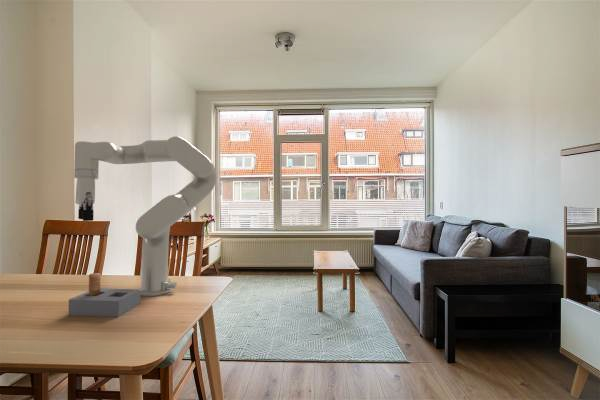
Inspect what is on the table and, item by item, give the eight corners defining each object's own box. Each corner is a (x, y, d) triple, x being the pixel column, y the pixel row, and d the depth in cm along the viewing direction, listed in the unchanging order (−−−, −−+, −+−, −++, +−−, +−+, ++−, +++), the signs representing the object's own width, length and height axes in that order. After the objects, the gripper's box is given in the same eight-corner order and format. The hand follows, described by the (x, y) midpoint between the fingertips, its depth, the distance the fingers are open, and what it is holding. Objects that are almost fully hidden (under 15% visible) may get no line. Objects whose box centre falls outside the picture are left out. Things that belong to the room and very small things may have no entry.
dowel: (102, 302, 102) (102, 273, 102) (95, 305, 99) (96, 275, 99) (93, 302, 103) (93, 272, 103) (86, 305, 99) (86, 275, 99)
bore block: (139, 303, 107) (140, 289, 107) (118, 316, 95) (118, 301, 95) (95, 302, 107) (95, 288, 107) (68, 315, 95) (68, 299, 95)
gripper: (71, 175, 119) (70, 218, 119) (77, 173, 106) (77, 221, 106) (93, 176, 124) (93, 218, 124) (103, 174, 111) (102, 221, 111)
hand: (85, 219), depth 115 cm, fingers open, 9 cm apart
